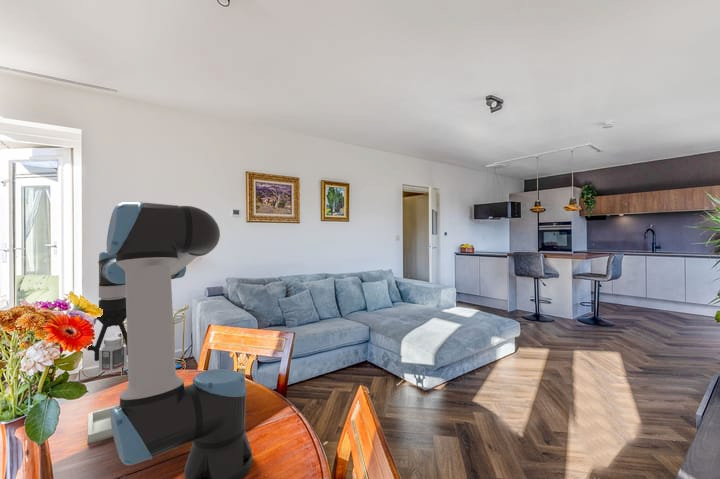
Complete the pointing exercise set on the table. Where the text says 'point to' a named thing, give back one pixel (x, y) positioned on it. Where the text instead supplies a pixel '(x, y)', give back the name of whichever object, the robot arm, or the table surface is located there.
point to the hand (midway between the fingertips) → (112, 367)
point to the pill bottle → (112, 354)
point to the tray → (99, 425)
